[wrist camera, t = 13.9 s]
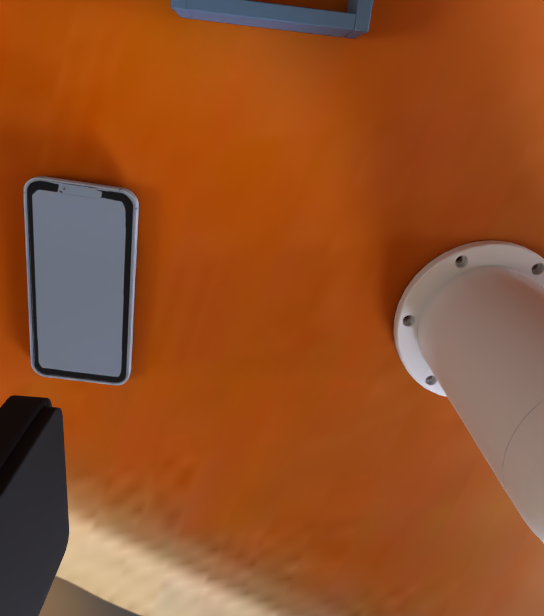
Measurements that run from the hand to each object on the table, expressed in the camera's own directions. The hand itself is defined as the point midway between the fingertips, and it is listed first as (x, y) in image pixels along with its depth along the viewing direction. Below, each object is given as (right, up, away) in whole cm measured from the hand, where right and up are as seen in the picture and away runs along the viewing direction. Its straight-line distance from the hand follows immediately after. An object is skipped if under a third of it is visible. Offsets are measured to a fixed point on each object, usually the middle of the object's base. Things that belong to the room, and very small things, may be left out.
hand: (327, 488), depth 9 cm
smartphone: (-14, +5, +28) cm, 32 cm away
